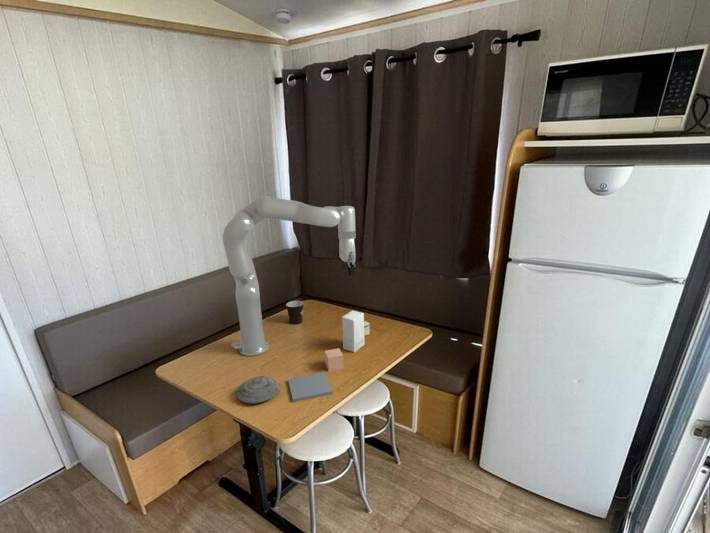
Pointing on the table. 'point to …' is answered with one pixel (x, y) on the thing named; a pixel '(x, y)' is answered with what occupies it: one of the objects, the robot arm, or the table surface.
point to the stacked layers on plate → (366, 328)
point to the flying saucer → (258, 389)
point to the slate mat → (309, 386)
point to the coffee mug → (295, 312)
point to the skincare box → (353, 331)
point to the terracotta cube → (334, 359)
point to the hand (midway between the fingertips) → (348, 272)
